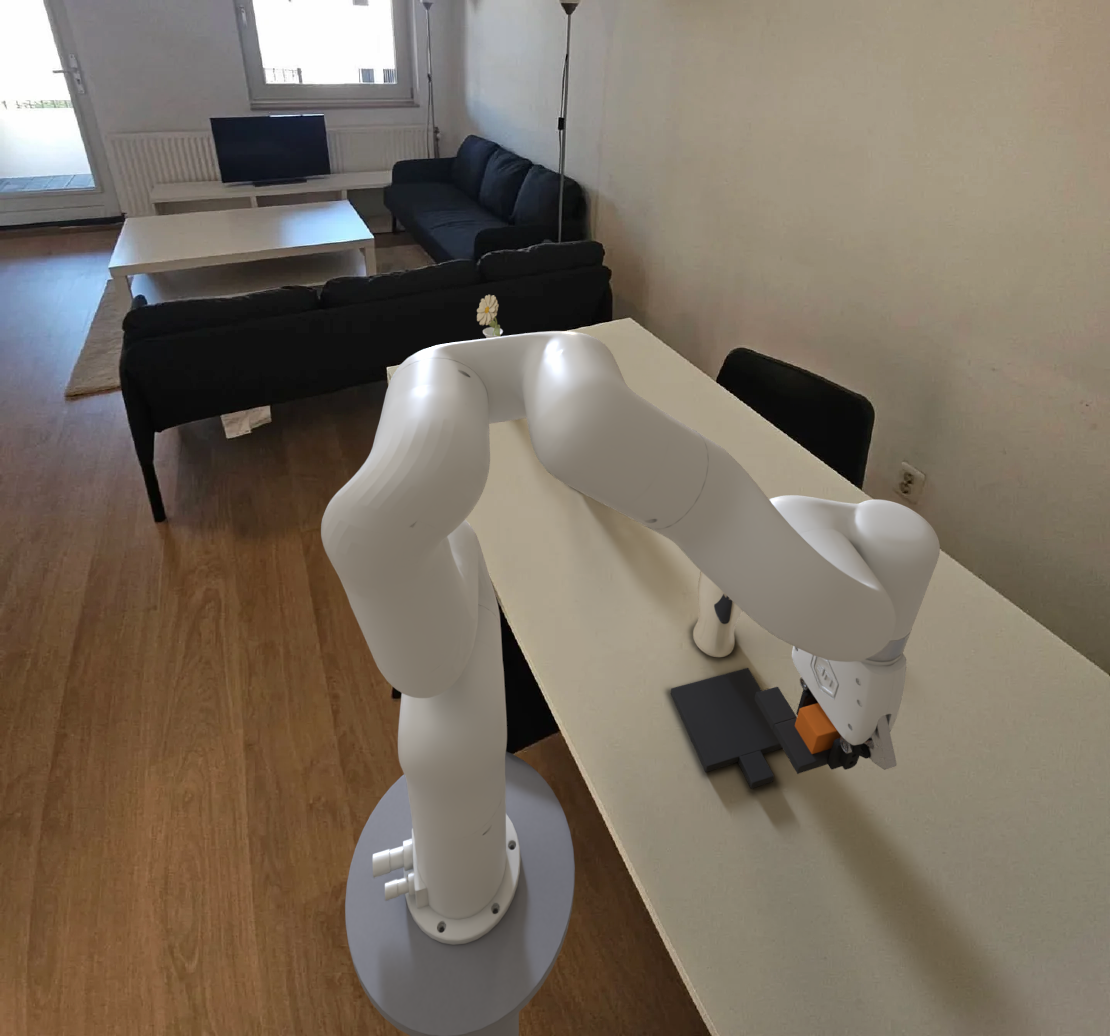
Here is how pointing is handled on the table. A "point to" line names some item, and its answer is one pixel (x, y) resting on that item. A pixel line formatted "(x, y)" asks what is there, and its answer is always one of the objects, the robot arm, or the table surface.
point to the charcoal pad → (728, 724)
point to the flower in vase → (489, 316)
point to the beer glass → (715, 619)
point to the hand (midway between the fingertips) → (825, 736)
